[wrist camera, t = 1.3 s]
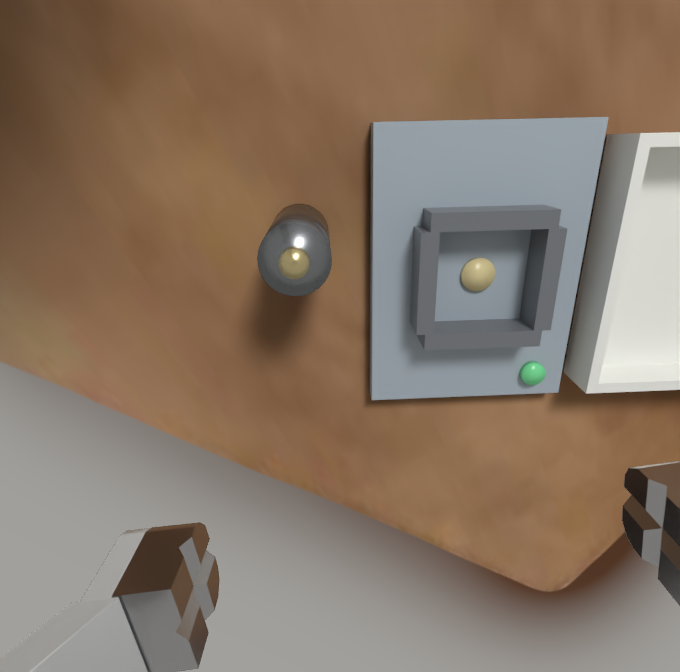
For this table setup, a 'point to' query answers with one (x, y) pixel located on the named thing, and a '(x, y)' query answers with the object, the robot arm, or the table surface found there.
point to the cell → (296, 251)
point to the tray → (631, 272)
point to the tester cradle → (477, 252)
